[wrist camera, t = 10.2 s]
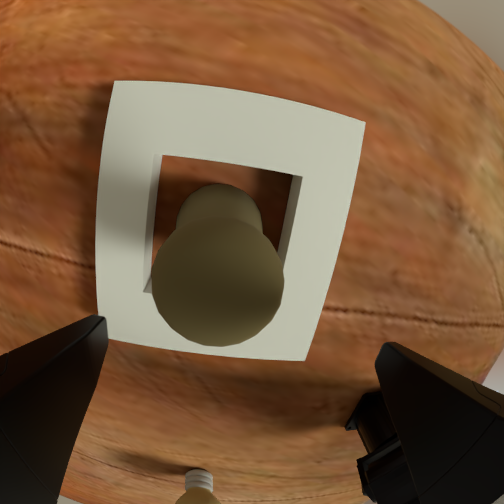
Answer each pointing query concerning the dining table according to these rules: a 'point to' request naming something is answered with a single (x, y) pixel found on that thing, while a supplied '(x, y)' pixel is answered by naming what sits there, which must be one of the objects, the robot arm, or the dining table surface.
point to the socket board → (229, 151)
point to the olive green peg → (218, 270)
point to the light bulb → (198, 488)
